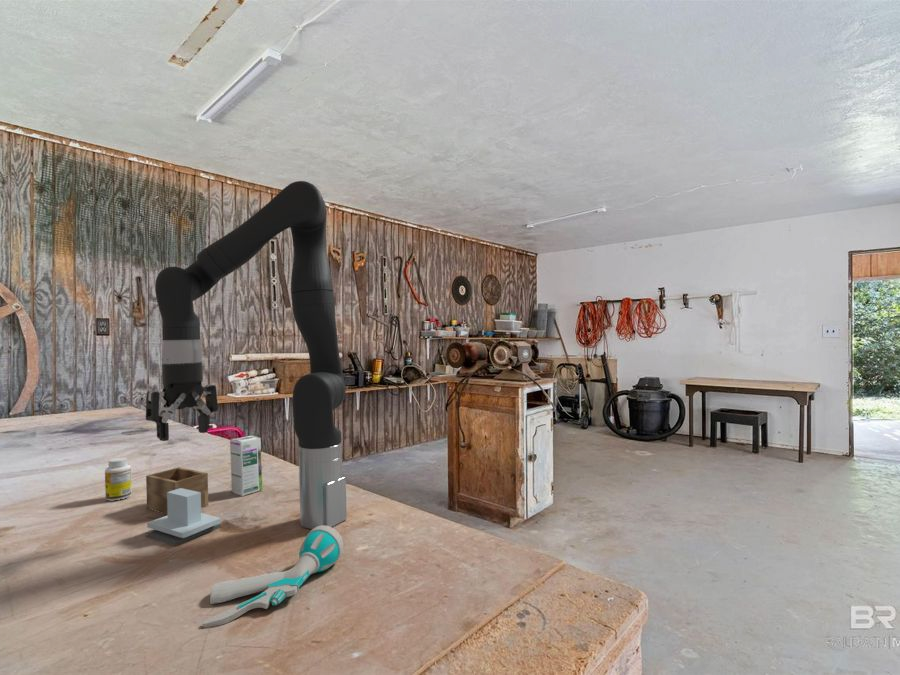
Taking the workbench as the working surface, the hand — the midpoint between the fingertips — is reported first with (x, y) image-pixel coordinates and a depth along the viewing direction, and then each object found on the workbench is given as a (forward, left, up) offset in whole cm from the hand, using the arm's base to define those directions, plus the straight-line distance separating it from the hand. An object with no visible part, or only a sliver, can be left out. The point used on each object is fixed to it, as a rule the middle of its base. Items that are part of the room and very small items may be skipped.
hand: (184, 436), depth 98 cm
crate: (+16, -7, -20) cm, 27 cm away
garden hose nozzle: (-36, +7, -21) cm, 42 cm away
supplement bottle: (+37, -4, -21) cm, 42 cm away
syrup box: (+10, -22, -21) cm, 32 cm away
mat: (0, +1, -20) cm, 20 cm away
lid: (0, +1, -20) cm, 20 cm away
